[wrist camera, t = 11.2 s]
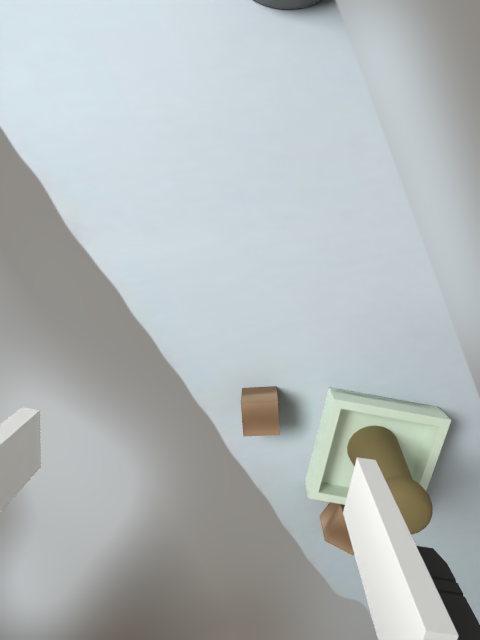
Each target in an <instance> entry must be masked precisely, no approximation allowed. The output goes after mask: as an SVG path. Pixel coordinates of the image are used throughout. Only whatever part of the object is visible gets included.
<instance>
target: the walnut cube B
mask: <svg viewBox="0 0 480 640" xmlns="http://www.w3.org/2000/svg"><path fill="white" fill-rule="evenodd" d="M344 507H345V505H343V504H337V503H332V502H330V503H329V504H328V506H327V507H326V508H325V509H324V511H323V512H322V513H321V515H320V520H321V525H322V529H323V534H324V539H325V541H326V542H328V543H330V544H332V545H334V546H336V547H338V548H340V549H342V550H344V551H345V552H347V553H349V554H351V555H354V551H353V547H352V543H351V540H350V536H349V533H348V529H347V525H346V522H345V518H344V515H343V511H344Z"/></svg>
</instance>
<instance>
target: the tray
mask: <svg viewBox="0 0 480 640" xmlns="http://www.w3.org/2000/svg"><path fill="white" fill-rule="evenodd" d="M450 423H451V419H450V418H449V417H448V416H447V415H446V414H445V413H444V412H443V411H442V410H441V409H440V408H439V407H435V406H429V405H424V404H418V403H413V402H407V401H402V400H396V399H391V398H385V397H379V396H374V395H368V394H363V393H357V392H352V391H346V390H341V389H335V388H330V387H329V390H328V394H327V397H326V401H325V405H324V409H323V413H322V417H321V421H320V425H319V429H318V433H317V437H316V440H315V444H314V448H313V452H312V456H311V460H310V464H309V468H308V472H307V476H306V480H305V484H306V489H307V495H308V498H309V499H315V500H321V501H326V502H332V503H337V504H343V505H345V503H346V499H347V495H348V491H349V487H350V483H351V479H352V475H353V471H354V465H353V464H352V462H351V460H350V458H349V456H348V454H347V446H348V442H349V440H350V438H351V437H352V435H353V434H354V433H355V432H357V431H358V430H359V429H362V428H364V427H367V426H381V427H385V428H387V429H389V430H390V431H392V433H393V434H394V435H395V436H396V438H397V440H398V443H399V445H400V448H401V450H402V453H403V455H404V458H405V460H406V463H407V466H408V468H409V471H410V473H411V476H412V478H413V480H414V481H416V482H418V483H419V484H420V485H421V486H422V487H423V488H424V489H425V490H426V491H427V488H428V485H429V482H430V479H431V476H432V474H433V471H434V468H435V465H436V462H437V460H438V457H439V454H440V451H441V448H442V445H443V443H444V440H445V437H446V434H447V431H448V429H449V426H450Z"/></svg>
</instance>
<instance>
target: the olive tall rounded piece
mask: <svg viewBox="0 0 480 640" xmlns="http://www.w3.org/2000/svg"><path fill="white" fill-rule="evenodd" d="M347 454H348V456H349V458H350V460H351V462H352V464H353V465H354V467H355V463H356V459H357V457H358V458H365V459H372V460H376V462H377V464H378V466H379V468H380V470H381V472H382V474H383V477H384V479H385V481H386V483H387V485H388V487H389V489H390V491H391V493H392V496H393V498H394V500H395V502H396V504H397V506H398V508H399V510H400V513H401V515H402V517H403V519H404V521H405V523H406V525H407V527H408V530H409V532H410V534H411V535H412V534H415V533H418V532H420V531H421V530H423V529H424V528H425V527H426V526H427V525H428V524H429V522H430V519H431V517H432V503H431V500H430V498H429V495H428V493H427V492H426V490H425V489H424V488H423V487H422V486H421V485H420V484H419V483H418V482H416V481H414V480H413V478H412V476H411V473H410V471H409V468H408V466H407V463H406V460H405V458H404V455H403V453H402V450H401V448H400V445H399V443H398V440H397V438H396V436H395V435H394V434H393V433H392V431H390V430H389V429H387V428H385V427H381V426H367V427H364V428H362V429H359V430H358V431H357V432H355V433H354V434H353V435H352V437H351V438H350V440H349V442H348V446H347Z"/></svg>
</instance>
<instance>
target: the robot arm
mask: <svg viewBox="0 0 480 640" xmlns="http://www.w3.org/2000/svg"><path fill="white" fill-rule="evenodd" d="M254 1H256V2H258V3H261V4H263V5H266V6H269V7H273V8H279V9H297V8H303V7H307V6H311V5H313V4H316V3H319V2H321V1H323V0H254ZM40 465H41V462H40V410H35V409H29V408H20V409H19V410H18V411H17V412H15V413H14V414H13V415H12V416H10V417H9V418H8V419H7V420H5V421H4V422H3V423H2V424H0V512H1V511H2V510H3V509H4V508H5V507H6V506H7V504H8V503H9V502H10V501H11V500H12V499H13V498H14V497H15V495H16V494H17V493H18V492H19V491H20V490H21V489H22V488H23V486H24V485H25V484H26V483H27V482H28V481H29V480H30V478H31V477H32V476H33V475H34V474H35V473H36V472H37V470H38V469H39V468H40V467H41V466H40ZM343 515H344V518H345V522H346V525H347V529H348V533H349V536H350V540H351V543H352V547H353V551H354V554H355V558H356V561H357V565H358V569H359V572H360V576H361V580H362V583H363V587H364V590H365V594H366V598H367V601H368V605H369V608H370V612H371V616H372V619H373V623H374V626H375V630H376V634H377V637H378V640H480V625H479V623H478V621H477V619H476V617H475V615H474V613H473V611H472V610H471V608H470V606H469V604H468V602H467V600H466V598H465V597H463V593H462V591H461V589H460V587H459V585H458V583H456V580H455V578H454V576H453V574H452V572H451V570H450V569H449V567H448V565H447V563H446V562H445V561H444V560H443V559H442V558H441V557H440V556H439V555H438V553H437V552H436V551H435V550H434V549H433V548H426V547H420V546H416V544H415V542H414V540H413V538H412V536H411V534H410V532H409V530H408V527H407V525H406V523H405V521H404V519H403V517H402V515H401V513H400V510H399V508H398V506H397V504H396V502H395V500H394V498H393V496H392V493H391V491H390V489H389V487H388V485H387V483H386V481H385V479H384V477H383V474H382V472H381V470H380V468H379V466H378V464H377V462H376V460H372V459H365V458H358V457H357V459H356V463H355V467H354V471H353V475H352V479H351V483H350V487H349V491H348V495H347V499H346V503H345V507H344V511H343Z"/></svg>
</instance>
